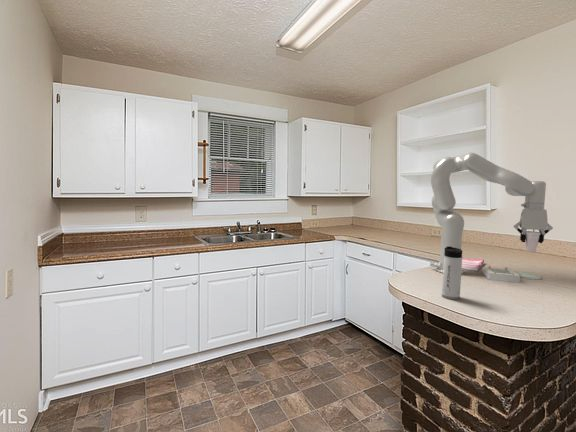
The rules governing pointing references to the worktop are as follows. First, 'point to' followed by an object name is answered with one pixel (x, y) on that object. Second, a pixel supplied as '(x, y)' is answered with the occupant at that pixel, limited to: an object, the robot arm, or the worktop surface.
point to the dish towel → (472, 264)
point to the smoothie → (531, 240)
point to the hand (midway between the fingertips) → (531, 242)
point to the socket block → (500, 274)
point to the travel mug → (452, 273)
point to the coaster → (529, 276)
